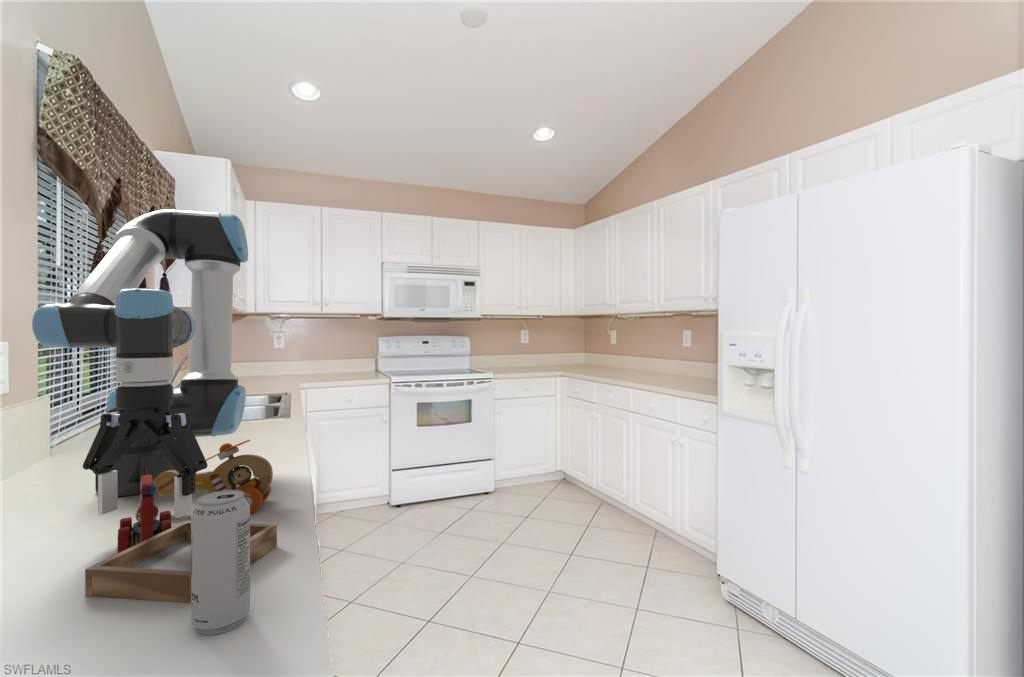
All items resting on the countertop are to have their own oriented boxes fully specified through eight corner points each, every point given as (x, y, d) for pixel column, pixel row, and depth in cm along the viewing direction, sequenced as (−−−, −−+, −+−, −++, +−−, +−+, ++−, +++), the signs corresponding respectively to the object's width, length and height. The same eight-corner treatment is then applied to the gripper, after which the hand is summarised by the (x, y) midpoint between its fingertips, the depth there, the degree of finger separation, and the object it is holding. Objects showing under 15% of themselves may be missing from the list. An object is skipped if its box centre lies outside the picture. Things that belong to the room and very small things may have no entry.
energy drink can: (200, 613, 60) (199, 491, 60) (254, 604, 62) (254, 486, 62) (183, 642, 54) (183, 507, 54) (244, 632, 56) (244, 501, 56)
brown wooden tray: (186, 541, 81) (186, 520, 81) (276, 546, 79) (276, 524, 79) (85, 595, 64) (85, 569, 64) (197, 603, 62) (197, 575, 62)
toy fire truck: (116, 564, 73) (116, 495, 73) (120, 537, 83) (120, 476, 83) (173, 552, 77) (172, 486, 77) (170, 527, 87) (170, 469, 87)
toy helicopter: (266, 513, 94) (266, 442, 94) (143, 522, 89) (143, 447, 89) (277, 499, 102) (276, 433, 102) (164, 507, 97) (164, 438, 97)
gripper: (53, 385, 78) (53, 518, 77) (197, 386, 75) (197, 525, 75) (99, 381, 85) (98, 503, 85) (231, 382, 82) (231, 508, 82)
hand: (145, 513), depth 80 cm, fingers open, 13 cm apart
